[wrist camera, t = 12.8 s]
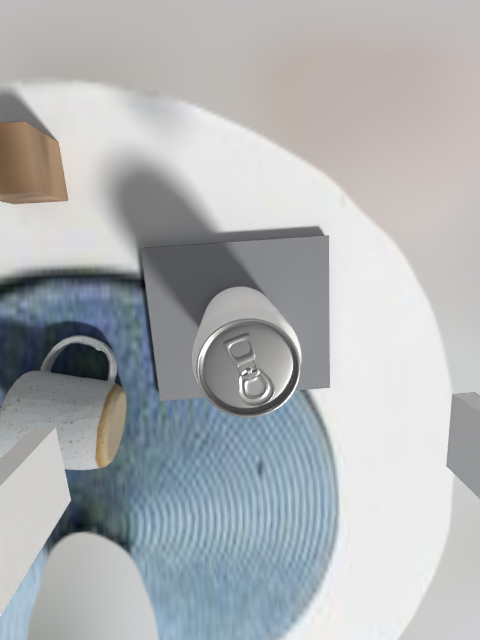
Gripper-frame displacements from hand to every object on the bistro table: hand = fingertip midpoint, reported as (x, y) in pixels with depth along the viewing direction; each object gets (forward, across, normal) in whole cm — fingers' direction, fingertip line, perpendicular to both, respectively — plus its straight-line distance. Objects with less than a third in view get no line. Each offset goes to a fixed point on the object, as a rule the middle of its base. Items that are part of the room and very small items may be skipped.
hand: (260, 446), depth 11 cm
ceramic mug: (+20, +15, +6) cm, 26 cm away
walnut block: (+20, +16, -14) cm, 29 cm away
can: (+19, 0, 0) cm, 19 cm away
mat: (+20, 0, 0) cm, 20 cm away
